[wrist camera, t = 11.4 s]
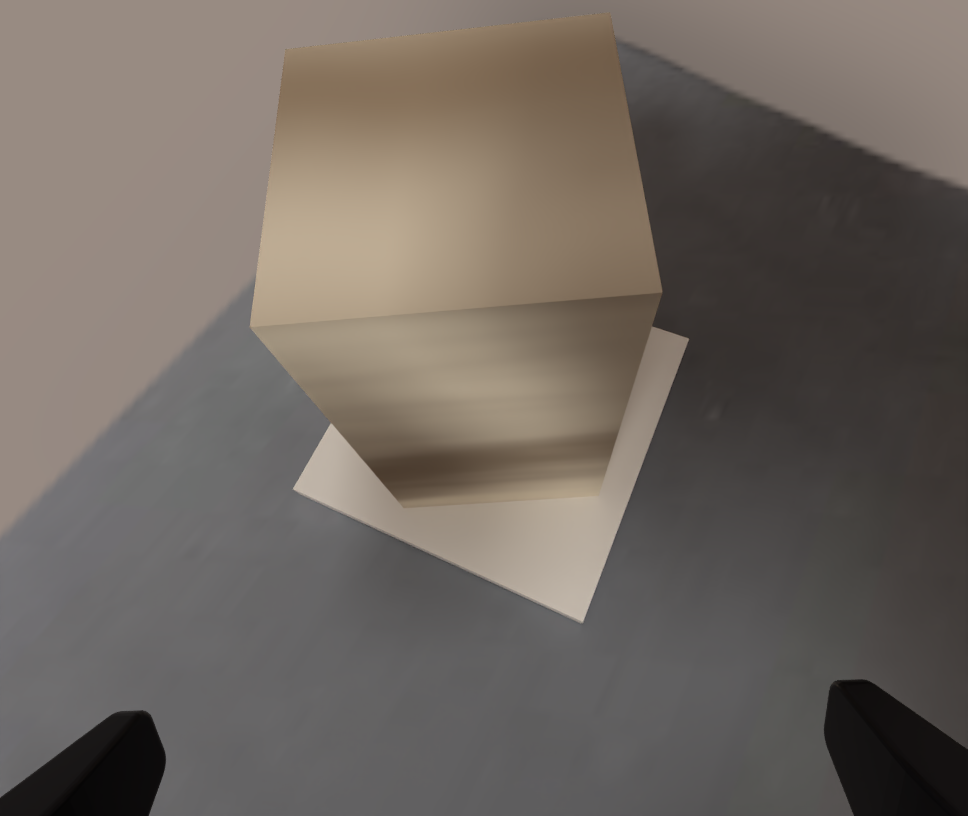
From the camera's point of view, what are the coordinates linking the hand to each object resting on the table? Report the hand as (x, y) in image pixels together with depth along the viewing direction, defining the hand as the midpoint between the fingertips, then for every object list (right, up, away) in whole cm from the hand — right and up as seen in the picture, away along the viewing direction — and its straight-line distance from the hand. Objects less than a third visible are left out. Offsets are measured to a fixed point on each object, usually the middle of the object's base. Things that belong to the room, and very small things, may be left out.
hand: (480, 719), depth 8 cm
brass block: (0, +4, +10) cm, 11 cm away
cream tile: (0, +4, +11) cm, 11 cm away
